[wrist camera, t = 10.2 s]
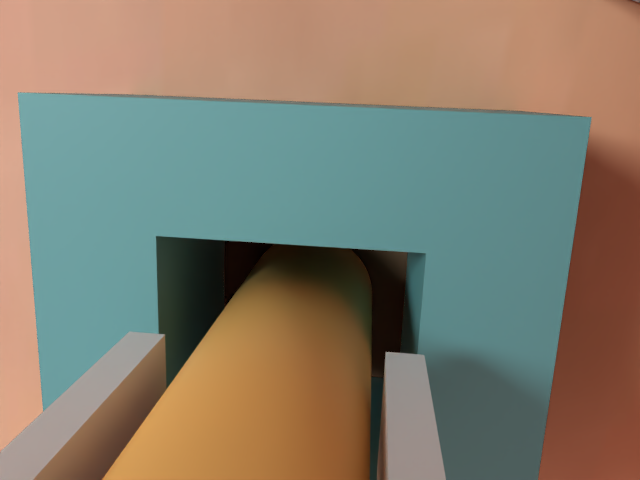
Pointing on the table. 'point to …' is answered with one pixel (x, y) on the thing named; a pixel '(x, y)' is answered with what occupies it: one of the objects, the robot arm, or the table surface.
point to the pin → (271, 381)
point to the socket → (313, 237)
